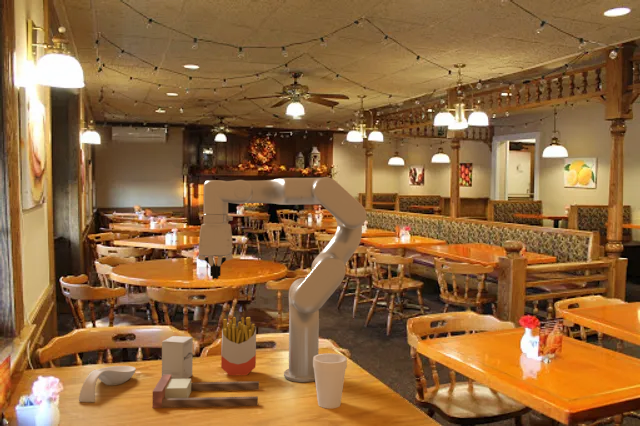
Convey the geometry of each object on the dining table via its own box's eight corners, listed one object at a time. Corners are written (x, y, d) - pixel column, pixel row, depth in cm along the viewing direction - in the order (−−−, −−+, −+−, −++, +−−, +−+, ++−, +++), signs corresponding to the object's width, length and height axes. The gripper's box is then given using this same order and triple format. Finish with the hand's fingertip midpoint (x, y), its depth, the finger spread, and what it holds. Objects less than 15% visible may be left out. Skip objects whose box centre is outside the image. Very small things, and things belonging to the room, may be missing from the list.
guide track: (259, 387, 166) (259, 373, 166) (257, 405, 152) (257, 389, 152) (162, 389, 164) (162, 374, 164) (152, 407, 150) (152, 391, 150)
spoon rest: (106, 375, 177) (106, 353, 177) (141, 376, 176) (141, 354, 176) (67, 402, 153) (67, 377, 153) (107, 404, 153) (107, 378, 152)
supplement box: (183, 383, 169) (183, 342, 169) (160, 381, 171) (161, 341, 171) (193, 375, 177) (193, 336, 176) (171, 373, 178) (172, 335, 178)
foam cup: (335, 413, 147) (335, 365, 147) (306, 406, 152) (306, 359, 152) (351, 402, 155) (352, 356, 155) (324, 395, 160) (324, 351, 160)
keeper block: (191, 391, 163) (191, 378, 163) (186, 402, 155) (186, 388, 155) (170, 392, 162) (170, 378, 162) (165, 402, 154) (165, 388, 154)
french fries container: (255, 375, 177) (255, 320, 177) (221, 375, 177) (221, 320, 176) (255, 370, 182) (256, 316, 181) (222, 371, 181) (222, 317, 181)
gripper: (240, 219, 176) (240, 276, 176) (193, 219, 174) (193, 276, 175) (239, 220, 168) (238, 280, 169) (189, 220, 167) (189, 280, 167)
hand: (215, 278), depth 172 cm, fingers closed
